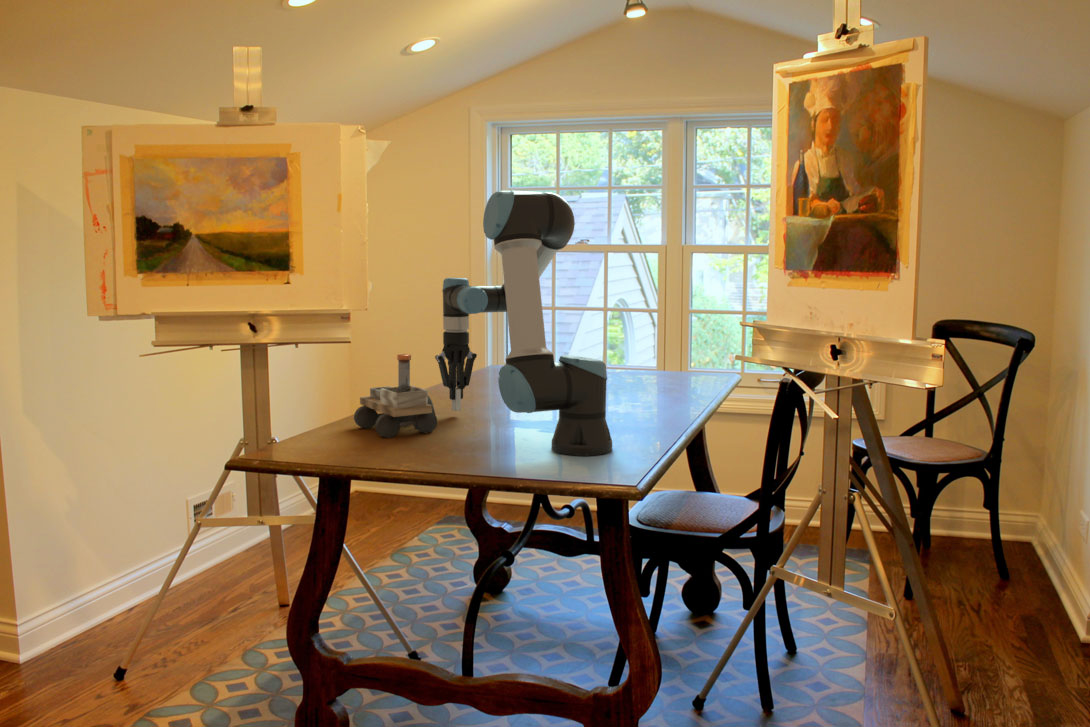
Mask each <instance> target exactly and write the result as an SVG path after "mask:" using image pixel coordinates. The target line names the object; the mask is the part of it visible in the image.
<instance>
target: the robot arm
mask: <svg viewBox="0 0 1090 727" xmlns="http://www.w3.org/2000/svg"><path fill="white" fill-rule="evenodd" d="M483 212H484V213H483V220H482V227H483V232H484V235H485V237H486V238H487V239H489V240H493V243H494V244H493V245H494V249H495V250H496V251H497V252H498V253H499V254H500V255H501V262H502V263H501V264H502V271H503V272H502V273H503V283H502V285H470V283H469V279H468V278H467V277H446V278H444V279H443V281H442V290H441V291H442V321H443V322H442V323H443V324H442V325H443V326H442V329H443V330H444V332H442V338H443V339H442V343H443V348H442V350H441V351H442V352H440V353H439V354H437V355H435V356H434V359H435V361H436V362H437V364H438V368H439V372H440V377H441V381H442V384H443V386H444V387H445V388H448V390H449V400H451V410H452V411H454V412H461V411H462V407H461V406H462V405H461V404H462V400H463V399H464V389H465V388H466V387H467V386H470V382H471V376H472V371H473V367H474V363H475V360H476V358H477V356H478V354H477V353H474V352H472V351H471V349H470V346H469V343H470V332H469V331H468V330H469V329H470V315H473V314H474V315H475V314H482V313H506V315H507V324H508V333H509V345H510V352H509V353H508V355H507V356H506V357H505V364H504V365H503V366H501V367H500V369H499V371H498V378H497V379H498V389H499V394H500V396H501V399H502V401H503V403H504V404H505V405H506V407H507V408H508V409H509V410H510V411H511V412H514V413H517V414H518V413H527V414H532V413H538V412H540V413H541V412H550V411H558V420H557V423H556V426H555V430H554V432H553V436H552V438H551V450H552V451H553V452H556V453H558V454H563V455H569V456H579V457H580V456H583V457H585V456H586V457H589V456H599V455H604V454H608V453H611V452H612V450H613V440H612V437H611V433H610V429H609V426H608V423H607V418H606V417H607V416H606V415H607V380H608V376H607V365H606V363H605V362H604V361H603V360H601V359H596V358H591V357H583V356H577V355H575V356H574V355H566V354H565V355H564V354H563V355H560V356H559V358H558V361H557V362H555V359H554V353H553V352H552V351H551V350H549V349H548V347H547V341H546V331H545V323H544V314H543V302H542V292H541V291H542V290H541V283H540V278H541V276H542V275H543V273H544V272H545V270H546V269H547V267H548V266H549V264H550V263H551V262H552V260H553V259H554V257H555V255H556V254H557V253H558V251H560V250H562V249H564V248H565V247H567V245H568V243H569V242H570V241H571V238H572V236H573V235H574V230H575V223H576V222H575V216H574V212H573V209H572V208H571V206H570V204H569V203H568V201H566V199H564V198H563V197H562V196H560V195H559V194H557V193H553V192H550V191H549V192H548V191H527V190H526V191H523V190H513V189H509V190H499V191H498V190H497V191H495V192H494V193H492V195H490V197H489V198H488V200H487V202H486V205H485V208H484V211H483ZM446 360H447V363H446ZM447 365H448V367H447Z"/></svg>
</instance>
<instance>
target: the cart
mask: <svg viewBox="0 0 1090 727" xmlns="http://www.w3.org/2000/svg"><path fill="white" fill-rule="evenodd" d="M369 389H370V390H369V394H370V395H369V396H360V397H359V405H361V406H360V407H357V408H356V410H355V412H354V414H353V420H354V422H355V424H356V425H357V426H358V427H360V428H363V429H371V428H373V427H375V431H376V433H377V434H378V435H379V436H381V437H383V438H386V439H391V438H393V437H395V436H396V435H397V434H398V433H399V431H400V429H401V427H407V426H409V427H410V426H413V427H414V429H415V430H416V431H418V432H421V433H423V434H428V433H429V434H430V433H432V432H433V431H434V430H435V429H436V427H437V425H438V418H437V415H436V413H435V414H434V413H433V412H432V405H429V404H428V396H429V394H428V391H429V390H427V389H425V388H421V387H417V386H414V385H410V392H401V393H398V386H389V385H387V386H379V387H370V388H369ZM378 412H380V413H378ZM414 415H415V416H414ZM413 416H414V419H413ZM412 419H413V421H411V420H412Z"/></svg>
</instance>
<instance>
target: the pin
mask: <svg viewBox="0 0 1090 727" xmlns="http://www.w3.org/2000/svg"><path fill="white" fill-rule="evenodd" d="M411 360H412V355H411V354H408V353H402V354H397V355H396V361H398V362H397V363H398V366H397V368H398V370H397V371H398V373H397V374H398V377H397V378H398V380H397V381H398V384H397V385H398V386H397V387H398V393H401V392H410V386H411V375H410V374H411V372H410V370H411Z"/></svg>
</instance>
